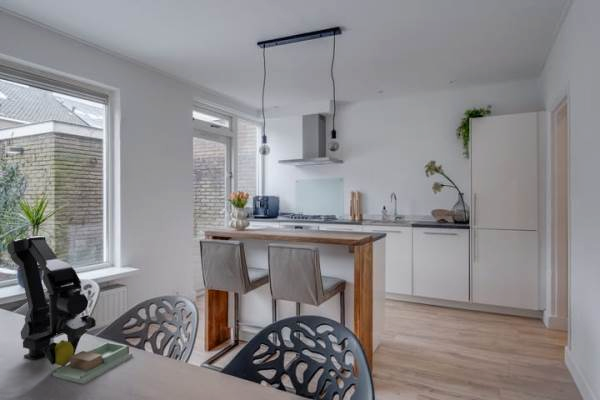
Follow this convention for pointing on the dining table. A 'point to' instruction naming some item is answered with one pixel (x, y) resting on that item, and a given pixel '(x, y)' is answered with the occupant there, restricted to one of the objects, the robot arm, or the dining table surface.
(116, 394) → the dining table surface
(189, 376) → the dining table surface
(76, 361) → the tan rectangular block
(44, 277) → the robot arm
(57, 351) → the lemon
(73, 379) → the tray
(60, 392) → the dining table surface
